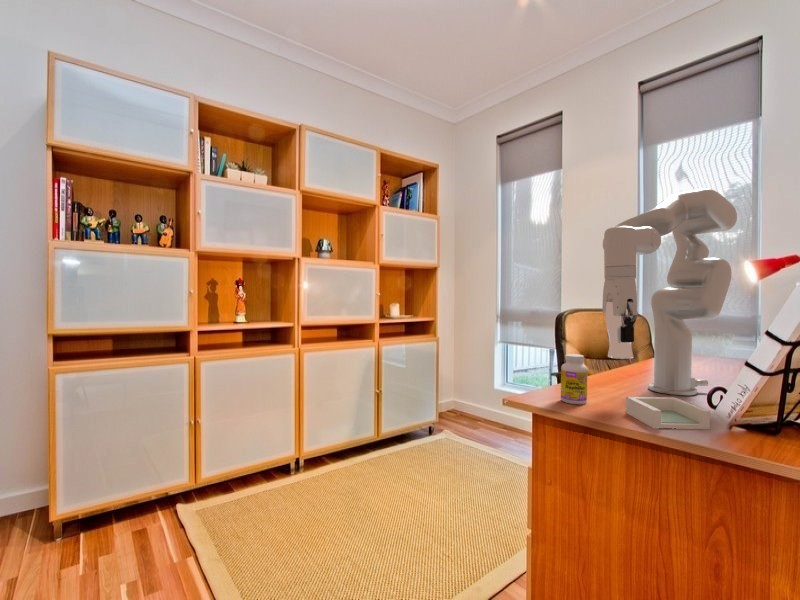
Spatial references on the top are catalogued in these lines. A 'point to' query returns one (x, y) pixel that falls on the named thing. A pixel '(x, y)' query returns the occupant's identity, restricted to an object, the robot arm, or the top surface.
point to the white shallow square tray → (667, 413)
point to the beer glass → (617, 335)
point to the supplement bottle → (574, 380)
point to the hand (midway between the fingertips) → (620, 339)
